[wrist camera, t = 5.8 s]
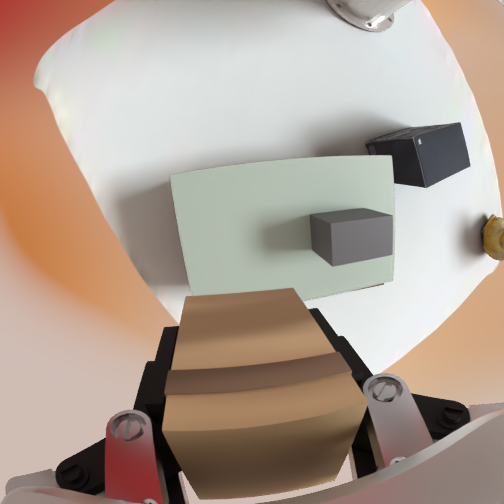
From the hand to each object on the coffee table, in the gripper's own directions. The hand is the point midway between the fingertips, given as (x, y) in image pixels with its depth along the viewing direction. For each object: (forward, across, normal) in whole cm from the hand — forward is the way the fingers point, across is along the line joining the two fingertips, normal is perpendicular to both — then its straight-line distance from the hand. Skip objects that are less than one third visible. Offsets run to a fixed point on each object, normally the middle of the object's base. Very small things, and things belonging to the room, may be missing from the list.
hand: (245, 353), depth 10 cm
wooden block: (+1, 0, 0) cm, 1 cm away
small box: (+25, -26, -9) cm, 37 cm away
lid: (+17, -7, 0) cm, 18 cm away
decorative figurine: (+25, -54, +6) cm, 60 cm away
